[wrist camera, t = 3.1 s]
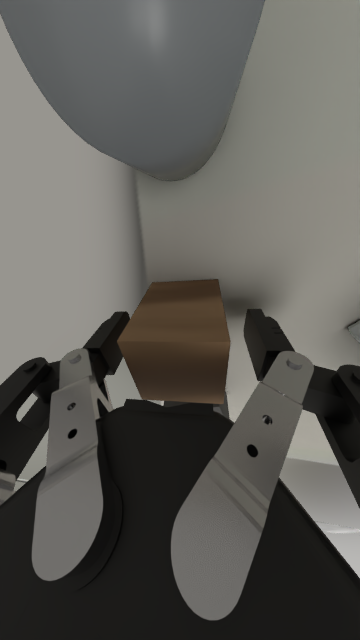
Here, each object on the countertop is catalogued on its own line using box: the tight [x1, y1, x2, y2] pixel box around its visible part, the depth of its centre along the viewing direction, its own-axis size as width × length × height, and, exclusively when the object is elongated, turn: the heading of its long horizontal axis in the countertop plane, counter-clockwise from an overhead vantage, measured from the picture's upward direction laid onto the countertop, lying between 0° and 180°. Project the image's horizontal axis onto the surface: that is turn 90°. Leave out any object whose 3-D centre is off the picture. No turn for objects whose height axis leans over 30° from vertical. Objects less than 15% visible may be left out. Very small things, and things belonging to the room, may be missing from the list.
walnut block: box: [117, 279, 230, 404], centre depth 10 cm, size 4×4×6 cm
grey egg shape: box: [0, 0, 265, 181], centre depth 5 cm, size 5×5×5 cm
